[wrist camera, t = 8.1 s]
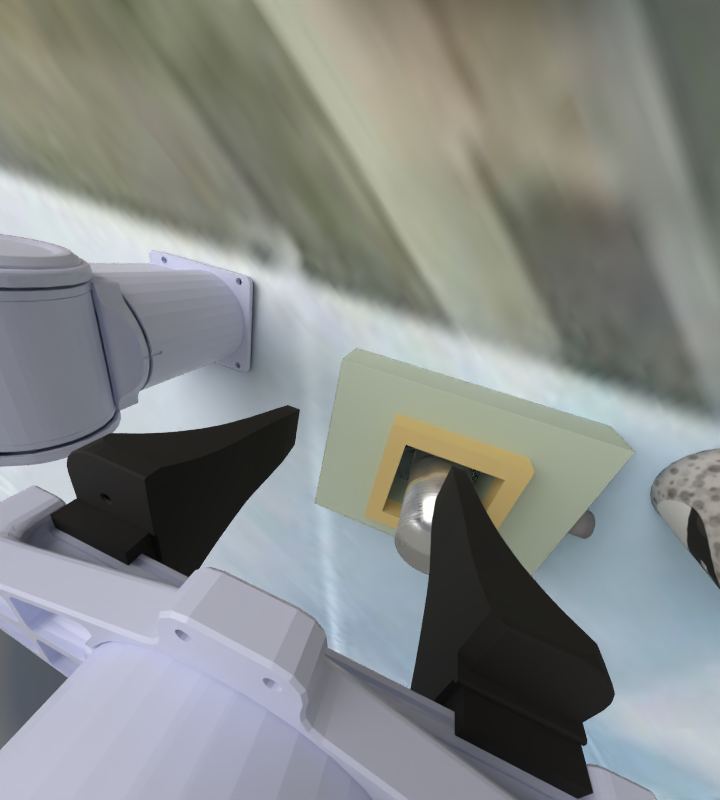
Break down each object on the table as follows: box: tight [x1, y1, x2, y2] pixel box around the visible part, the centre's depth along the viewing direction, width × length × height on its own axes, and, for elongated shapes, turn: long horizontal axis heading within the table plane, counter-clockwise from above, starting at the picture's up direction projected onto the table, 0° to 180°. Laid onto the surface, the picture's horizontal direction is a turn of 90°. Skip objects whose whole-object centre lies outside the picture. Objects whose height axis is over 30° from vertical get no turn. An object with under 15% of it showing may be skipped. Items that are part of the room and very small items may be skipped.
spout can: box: [395, 448, 473, 575], centre depth 19 cm, size 4×4×11 cm
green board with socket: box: [315, 348, 635, 576], centre depth 22 cm, size 20×14×4 cm
